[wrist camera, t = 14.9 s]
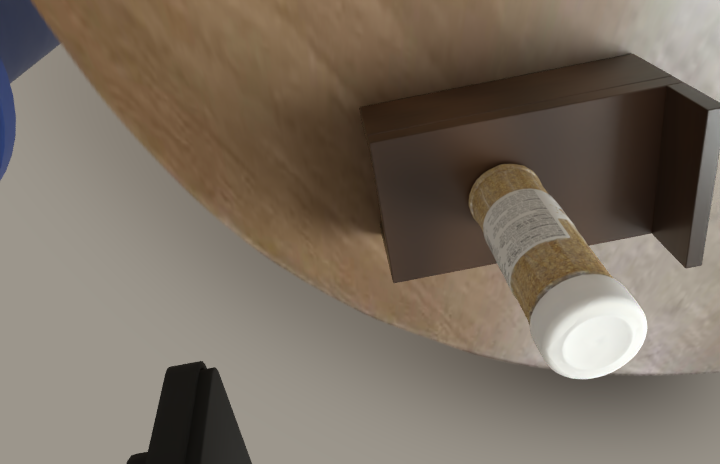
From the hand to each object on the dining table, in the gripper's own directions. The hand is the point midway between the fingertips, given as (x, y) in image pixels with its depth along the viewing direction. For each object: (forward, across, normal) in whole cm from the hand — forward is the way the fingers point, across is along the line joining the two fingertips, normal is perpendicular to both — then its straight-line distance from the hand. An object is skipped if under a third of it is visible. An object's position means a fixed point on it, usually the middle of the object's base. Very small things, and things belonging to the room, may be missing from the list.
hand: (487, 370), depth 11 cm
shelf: (+30, -9, +11) cm, 33 cm away
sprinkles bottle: (+24, -8, +11) cm, 28 cm away
